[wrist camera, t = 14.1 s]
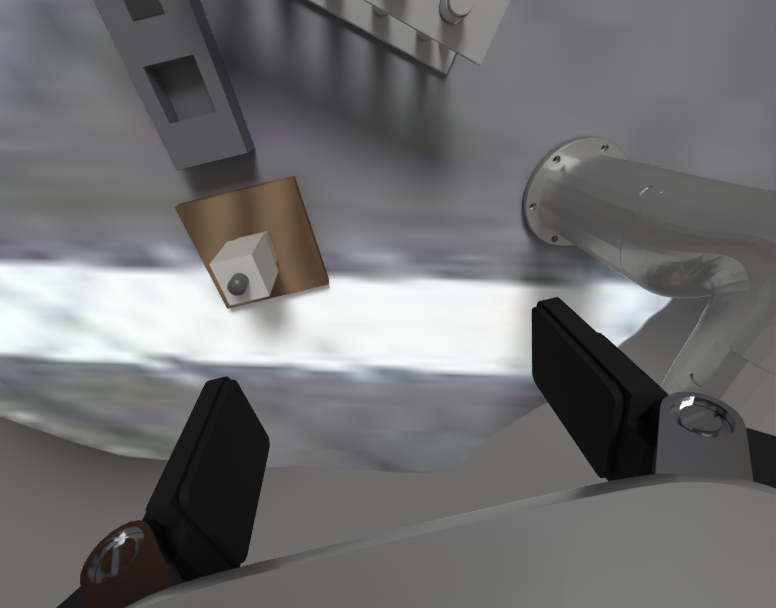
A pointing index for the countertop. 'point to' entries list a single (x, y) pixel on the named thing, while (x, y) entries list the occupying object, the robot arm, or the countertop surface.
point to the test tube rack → (426, 26)
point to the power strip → (179, 77)
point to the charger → (246, 268)
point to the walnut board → (259, 231)
